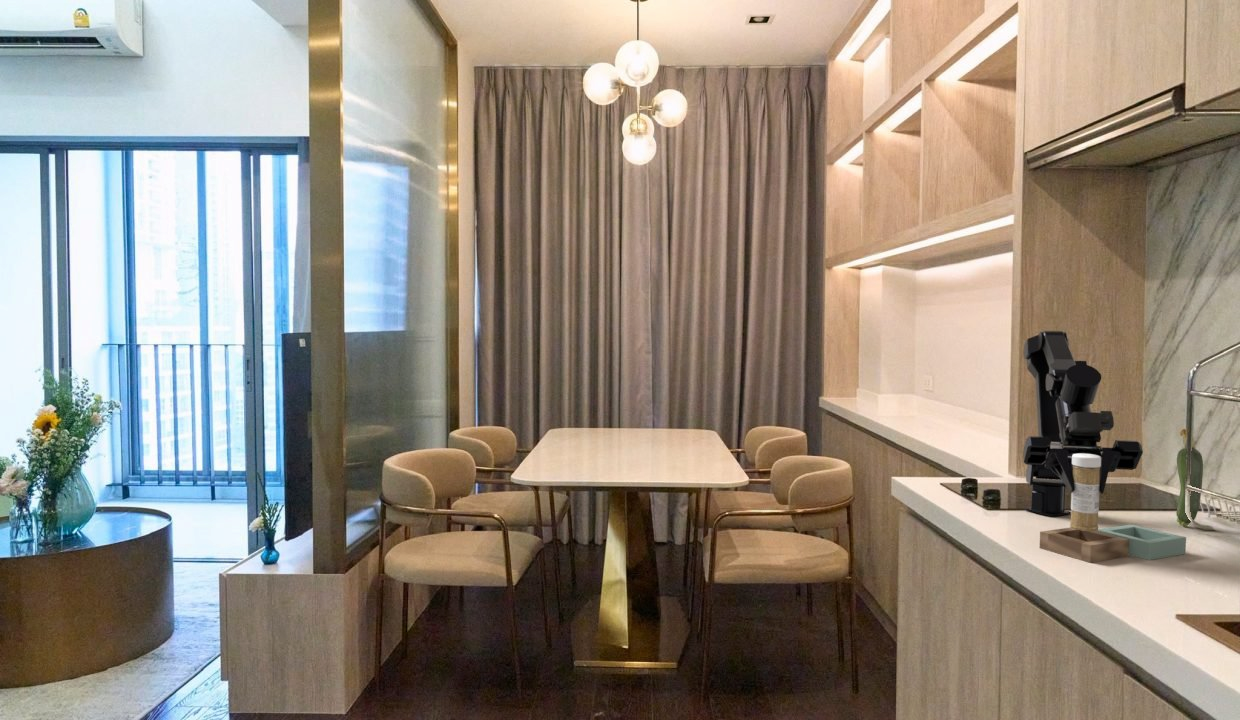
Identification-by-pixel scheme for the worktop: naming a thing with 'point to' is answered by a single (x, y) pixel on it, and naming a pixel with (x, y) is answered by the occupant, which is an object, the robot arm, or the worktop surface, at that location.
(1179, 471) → the vegetable
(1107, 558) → the walnut socket
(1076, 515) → the sprinkles bottle
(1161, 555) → the green square socket
